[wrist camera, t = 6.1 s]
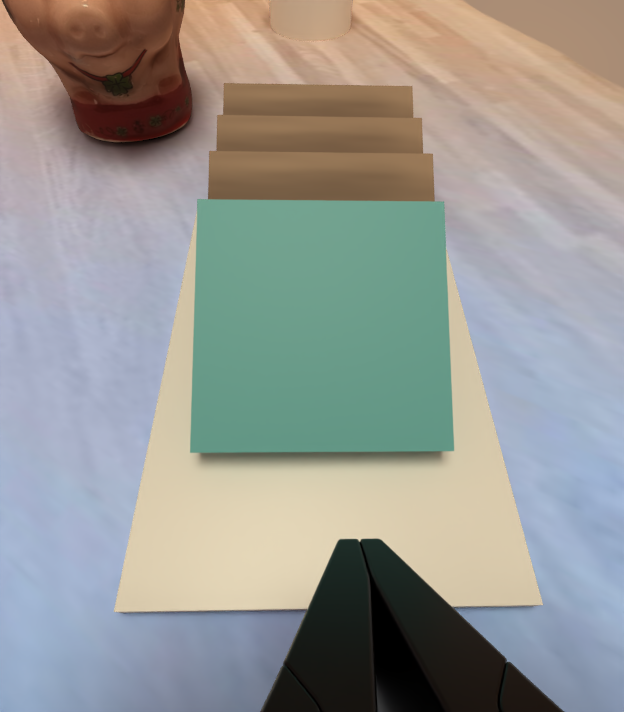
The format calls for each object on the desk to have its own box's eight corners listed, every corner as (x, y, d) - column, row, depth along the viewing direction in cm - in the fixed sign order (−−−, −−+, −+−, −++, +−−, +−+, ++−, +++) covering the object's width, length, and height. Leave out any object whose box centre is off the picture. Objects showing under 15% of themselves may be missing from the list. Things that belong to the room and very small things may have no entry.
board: (533, 606, 17) (543, 604, 16) (121, 612, 16) (114, 611, 16) (430, 211, 30) (433, 201, 29) (201, 209, 30) (199, 199, 29)
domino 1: (418, 267, 24) (412, 86, 25) (220, 266, 23) (223, 83, 25) (411, 276, 25) (405, 105, 27) (225, 275, 25) (228, 102, 26)
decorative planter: (51, 67, 41) (-49, -161, 29) (178, 49, 43) (134, -166, 32) (69, 188, 31) (-74, -87, 19) (233, 155, 33) (197, -103, 22)
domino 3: (454, 451, 18) (444, 201, 19) (189, 452, 18) (197, 199, 19) (441, 447, 19) (433, 217, 21) (199, 448, 19) (205, 215, 20)
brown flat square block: (428, 317, 22) (421, 118, 23) (212, 316, 21) (217, 114, 23) (420, 323, 23) (413, 136, 25) (218, 323, 23) (222, 133, 24)
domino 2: (441, 375, 20) (432, 153, 21) (203, 375, 20) (209, 150, 21) (431, 377, 21) (423, 171, 23) (210, 377, 21) (215, 169, 22)
